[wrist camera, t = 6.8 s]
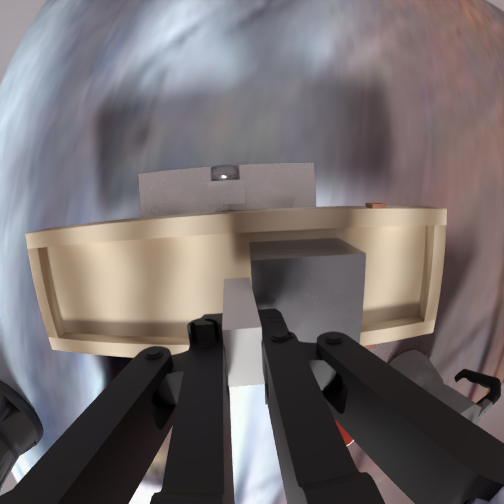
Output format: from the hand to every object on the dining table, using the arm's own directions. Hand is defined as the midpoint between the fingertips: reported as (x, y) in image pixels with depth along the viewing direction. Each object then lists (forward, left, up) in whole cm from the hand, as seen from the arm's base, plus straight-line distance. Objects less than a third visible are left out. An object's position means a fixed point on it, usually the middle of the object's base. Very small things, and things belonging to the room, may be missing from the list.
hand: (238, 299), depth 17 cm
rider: (+4, 0, -3) cm, 5 cm away
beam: (0, 0, -4) cm, 4 cm away
